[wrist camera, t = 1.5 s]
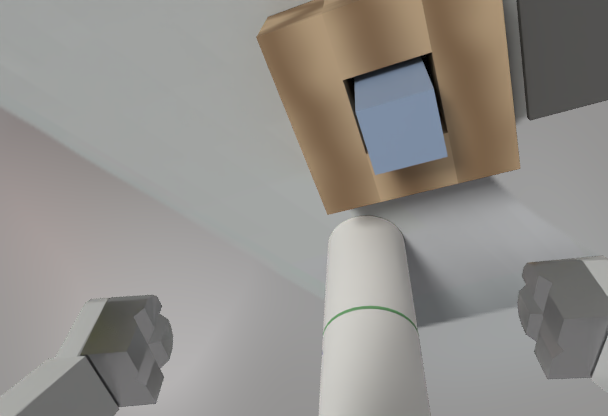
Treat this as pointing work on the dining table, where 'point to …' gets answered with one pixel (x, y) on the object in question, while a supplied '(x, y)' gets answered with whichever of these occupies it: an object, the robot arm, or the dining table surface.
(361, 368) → the cylindrical container
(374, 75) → the blue block
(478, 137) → the pocket block
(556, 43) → the mat
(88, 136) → the dining table surface
